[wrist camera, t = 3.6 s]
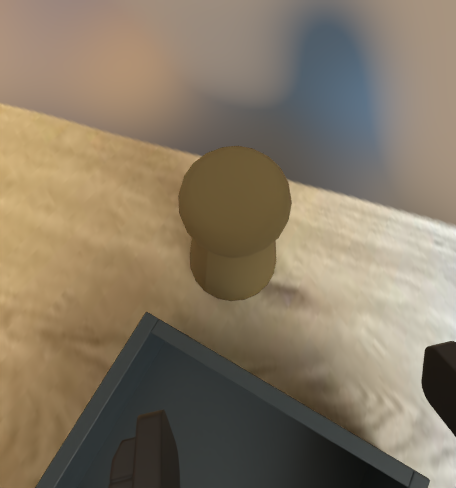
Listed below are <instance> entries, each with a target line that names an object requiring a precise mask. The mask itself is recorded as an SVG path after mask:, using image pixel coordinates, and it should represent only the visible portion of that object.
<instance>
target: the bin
mask: <svg viewBox="0 0 456 488" xmlns="http://www.w3.org/2000/svg"><path fill="white" fill-rule="evenodd" d="M163 409H164V410H165V413H166V415H167V418H168V421H169V424H170V427H171V430H172V433H173V436H174V439H175V442H176V445H177V450H178V457H179V470H180V488H428V485H429V482H430V480H429V479H428V478H427V477H425V476H423V475H422V474H420V473H418V472H417V471H415V470H413V469H412V468H410V467H408V466H407V465H405V464H403V463H402V462H400V461H398V460H396V459H395V458H393V457H391V456H390V455H388V454H386V453H385V452H383V451H381V450H380V449H378V448H376V447H375V446H373V445H371V444H369V443H368V442H366V441H364V440H363V439H361V438H359V437H358V436H356V435H354V434H353V433H351V432H349V431H347V430H346V429H344V428H342V427H341V426H339V425H337V424H336V423H334V422H332V421H331V420H329V419H327V418H326V417H324V416H322V415H320V414H319V413H317V412H315V411H314V410H312V409H310V408H309V407H307V406H305V405H304V404H302V403H300V402H298V401H297V400H295V399H293V398H292V397H290V396H288V395H287V394H285V393H283V392H282V391H280V390H278V389H277V388H275V387H273V386H271V385H270V384H268V383H266V382H265V381H263V380H261V379H260V378H258V377H256V376H255V375H253V374H251V373H249V372H248V371H246V370H244V369H243V368H241V367H239V366H238V365H236V364H234V363H233V362H231V361H229V360H228V359H226V358H224V357H222V356H221V355H219V354H217V353H216V352H214V351H212V350H211V349H209V348H207V347H206V346H204V345H202V344H200V343H199V342H197V341H195V340H194V339H192V338H190V337H189V336H187V335H185V334H184V333H182V332H180V331H179V330H177V329H175V328H173V327H172V326H170V325H168V324H167V323H165V322H163V321H162V320H160V319H158V318H157V317H155V316H153V315H151V314H150V313H148V312H146V313H145V314H144V316H143V317H142V319H141V321H140V322H139V324H138V325H137V327H136V329H135V330H134V332H133V333H132V335H131V336H130V338H129V340H128V341H127V343H126V344H125V346H124V348H123V349H122V351H121V352H120V354H119V355H118V357H117V359H116V360H115V362H114V363H113V365H112V367H111V368H110V370H109V371H108V373H107V374H106V376H105V378H104V379H103V381H102V382H101V384H100V386H99V387H98V389H97V390H96V392H95V394H94V395H93V397H92V398H91V400H90V401H89V403H88V405H87V406H86V408H85V409H84V411H83V413H82V414H81V416H80V417H79V419H78V420H77V422H76V424H75V425H74V427H73V428H72V430H71V432H70V433H69V435H68V436H67V438H66V439H65V441H64V443H63V444H62V446H61V447H60V449H59V451H58V452H57V454H56V455H55V457H54V459H53V460H52V462H51V463H50V465H49V466H48V468H47V470H46V471H45V473H44V474H43V476H42V478H41V479H40V481H39V482H38V484H37V485H36V487H35V488H108V487H109V484H110V481H109V479H110V472H111V464H112V459H113V457H114V455H115V453H116V451H117V449H118V447H119V445H120V443H121V441H122V440H125V439H129V438H133V437H135V436H136V423H137V417H138V416H139V415H142V414H146V413H150V412H154V411H159V410H163Z"/></svg>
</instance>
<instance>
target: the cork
mask: <svg viewBox="0 0 456 488" xmlns="http://www.w3.org/2000/svg"><path fill="white" fill-rule="evenodd" d="M178 197H179V213H180V216H181V218H182V221H183V223H184V225H185V228H186V230H187V233H188V234H189V235H190V236H191V237H192V241H191V251H190V263H191V270H192V272H193V275H194V277H195V280H196V281H197V282H198V284H199V285H200V286H201V287H202V288H203V289H204V290H205V291H206V292H208V293H209V294H211V295H213V296H214V297H216V298H220V299H224V300H229V301H234V300H244V299H247V298H249V297H251V296H254V295H256V294H258V293H259V292H260V291H261V290H262V289H263V288H264V287H265V286H267V284H268V282H269V281H270V279H271V277H272V275H273V274H274V269H275V264H276V243H275V240H276V239H278V238H279V236H280V234H281V232H282V231H283V229H284V227H285V226H286V224H287V222H288V219H289V214H290V209H291V204H292V202H291V196H290V190H289V184H288V181H287V179H286V177H285V175H284V173H283V172H282V170H281V168H280V167H279V166H278V165H277V164H276V163H275V162H274V161H273V160H272V159H270V158H269V157H268V156H266V155H264V154H262V153H260V152H258V151H256V150H254V149H252V148H246V147H241V146H231V147H222V148H219V149H217V150H214V151H211V152H209V153H206V154H205V155H204V156H202V157H201V158H200V159H198V160H197V161H196V162H194V163H193V165H192V166H191V167H190V169H189V170H188V172H187V173H186V174H185V176H184V179H183V182H182V186H181V189H180V192H179V196H178Z"/></svg>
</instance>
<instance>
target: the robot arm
mask: <svg viewBox="0 0 456 488" xmlns="http://www.w3.org/2000/svg"><path fill="white" fill-rule="evenodd" d="M422 388H423V392H424V394H425V397H426V398H427V400H428V402H429V403H430V405H431V406H432V407H433V408H434V410H435V411H436V412H437V414H438V415H439V416H440V417H441V419H442V420H443V421H444V423H445V424H446V425H447V426H448V428H449V429H450V430H451V431H452V433H453V434H454V435H455V437H456V342H454V341H449V342H445V343H440V344H436V345H432V346H428V347H427V348H426V349H425V354H424V363H423V372H422ZM109 481H110V484H109V487H108V488H180V470H179V457H178V450H177V445H176V442H175V439H174V436H173V433H172V430H171V427H170V424H169V421H168V418H167V415H166V413H165V410H164V409H163V410H159V411H154V412H150V413H146V414H142V415H139V416H138V417H137V423H136V436H135V437H133V438H129V439H125V440H122V441H121V443H120V445H119V447H118V449H117V451H116V453H115V455H114V457H113V459H112V464H111V472H110V479H109Z"/></svg>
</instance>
